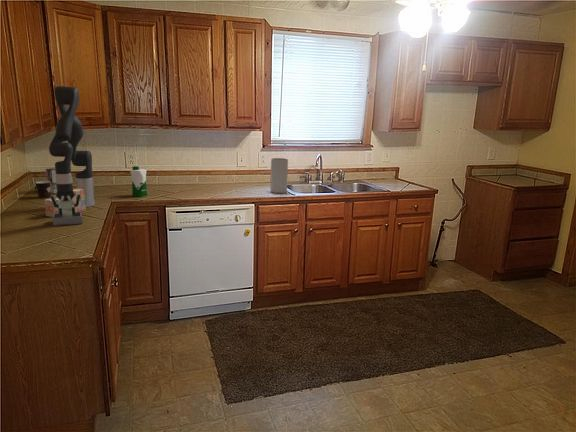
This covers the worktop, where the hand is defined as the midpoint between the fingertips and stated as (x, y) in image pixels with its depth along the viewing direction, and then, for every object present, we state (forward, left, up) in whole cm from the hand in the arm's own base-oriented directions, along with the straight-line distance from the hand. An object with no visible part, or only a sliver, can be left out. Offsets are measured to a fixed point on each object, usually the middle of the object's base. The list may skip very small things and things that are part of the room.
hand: (67, 214), depth 221 cm
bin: (0, 0, -4) cm, 4 cm away
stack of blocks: (-23, -1, -5) cm, 24 cm away
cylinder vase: (-45, +143, -5) cm, 150 cm away
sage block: (0, 0, -2) cm, 2 cm away
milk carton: (-59, +44, -5) cm, 74 cm away
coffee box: (-88, -8, -5) cm, 89 cm away
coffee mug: (-70, -15, -5) cm, 72 cm away
